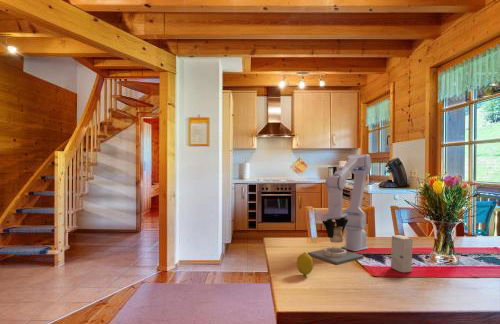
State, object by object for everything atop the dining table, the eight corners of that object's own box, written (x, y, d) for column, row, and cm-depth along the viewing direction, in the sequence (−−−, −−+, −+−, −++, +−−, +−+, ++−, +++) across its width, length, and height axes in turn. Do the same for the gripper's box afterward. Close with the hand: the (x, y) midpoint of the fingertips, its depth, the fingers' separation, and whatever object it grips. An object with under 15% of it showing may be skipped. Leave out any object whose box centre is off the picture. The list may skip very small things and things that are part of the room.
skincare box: (390, 267, 118) (390, 235, 118) (400, 266, 119) (400, 234, 119) (402, 273, 112) (402, 238, 112) (413, 272, 113) (412, 238, 113)
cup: (335, 239, 136) (334, 225, 136) (345, 241, 131) (345, 226, 132) (327, 241, 133) (326, 227, 133) (337, 243, 128) (336, 228, 129)
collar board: (333, 249, 143) (333, 243, 144) (363, 258, 130) (363, 252, 130) (307, 254, 135) (307, 249, 135) (337, 264, 121) (337, 258, 121)
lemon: (303, 279, 105) (303, 255, 105) (293, 274, 110) (293, 251, 110) (316, 276, 108) (316, 253, 108) (306, 272, 113) (306, 249, 113)
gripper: (330, 206, 125) (330, 240, 125) (354, 204, 133) (354, 236, 133) (317, 204, 131) (317, 237, 131) (340, 202, 139) (340, 233, 139)
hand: (335, 236), depth 132 cm, fingers closed on cup, 5 cm apart
